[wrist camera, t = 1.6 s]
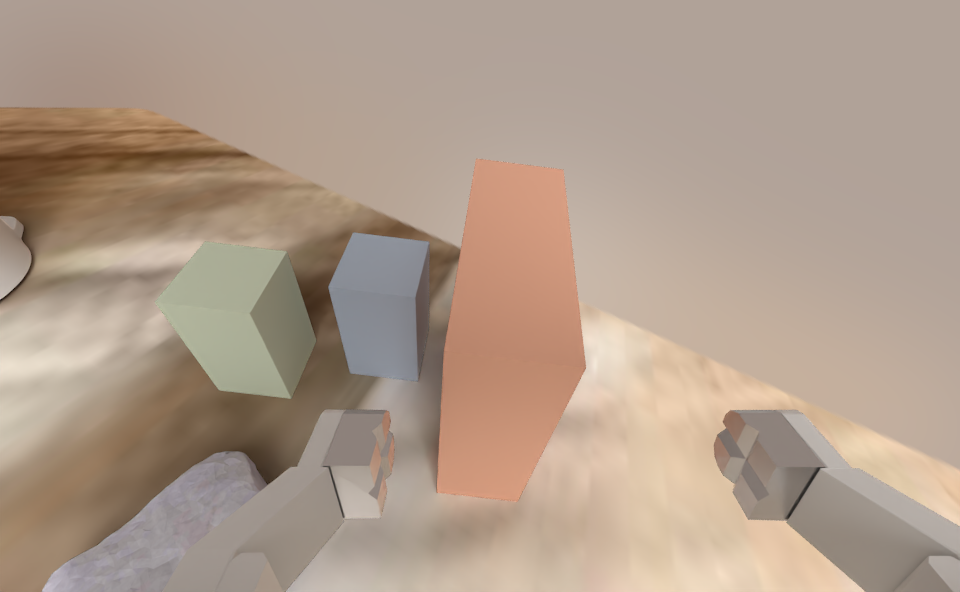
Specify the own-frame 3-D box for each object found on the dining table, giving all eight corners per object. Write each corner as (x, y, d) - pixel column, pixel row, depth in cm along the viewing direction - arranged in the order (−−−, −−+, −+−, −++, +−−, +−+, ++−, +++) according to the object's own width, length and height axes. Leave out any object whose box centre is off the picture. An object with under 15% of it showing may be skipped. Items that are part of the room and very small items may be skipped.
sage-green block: (219, 390, 34) (154, 302, 26) (251, 333, 38) (205, 241, 30) (291, 398, 34) (249, 313, 26) (316, 340, 38) (287, 251, 30)
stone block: (331, 549, 29) (243, 448, 31) (325, 546, 25) (225, 430, 27) (151, 742, 23) (56, 597, 25) (106, 778, 19) (-2, 602, 21)
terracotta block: (436, 492, 30) (443, 351, 17) (460, 324, 41) (476, 158, 28) (517, 501, 31) (586, 367, 17) (520, 331, 41) (563, 169, 28)
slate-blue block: (350, 373, 36) (328, 286, 28) (367, 320, 41) (353, 232, 32) (417, 381, 37) (415, 297, 28) (429, 328, 41) (429, 241, 33)
